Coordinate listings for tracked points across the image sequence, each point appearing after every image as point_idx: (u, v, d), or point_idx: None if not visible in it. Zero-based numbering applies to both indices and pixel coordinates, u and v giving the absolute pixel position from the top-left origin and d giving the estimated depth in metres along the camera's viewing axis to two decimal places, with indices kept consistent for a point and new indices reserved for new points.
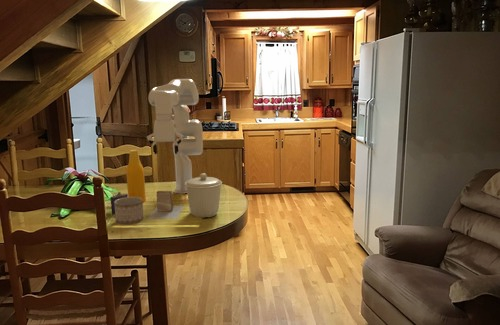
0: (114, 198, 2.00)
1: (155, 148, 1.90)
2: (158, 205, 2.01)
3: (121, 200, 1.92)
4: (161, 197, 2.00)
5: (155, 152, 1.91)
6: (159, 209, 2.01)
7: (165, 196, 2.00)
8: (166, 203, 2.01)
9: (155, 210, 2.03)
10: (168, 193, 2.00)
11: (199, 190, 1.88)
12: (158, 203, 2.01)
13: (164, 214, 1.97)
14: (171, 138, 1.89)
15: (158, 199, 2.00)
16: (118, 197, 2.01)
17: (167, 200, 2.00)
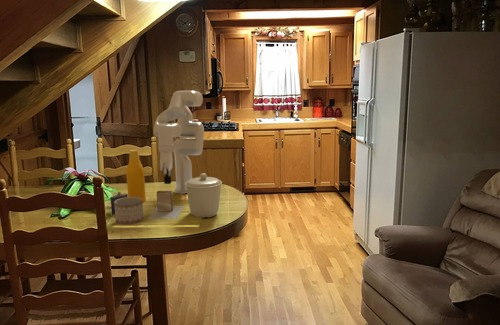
0: (114, 198, 2.00)
1: (170, 178, 2.09)
2: (158, 205, 2.01)
3: (121, 200, 1.92)
4: (161, 197, 2.00)
5: (170, 182, 2.09)
6: (159, 209, 2.01)
7: (165, 196, 2.00)
8: (166, 203, 2.01)
9: (155, 210, 2.03)
10: (168, 193, 2.00)
11: (198, 190, 1.88)
12: (158, 203, 2.01)
13: (164, 214, 1.97)
14: (172, 165, 2.12)
15: (158, 199, 2.00)
16: (118, 197, 2.01)
17: (167, 200, 2.00)
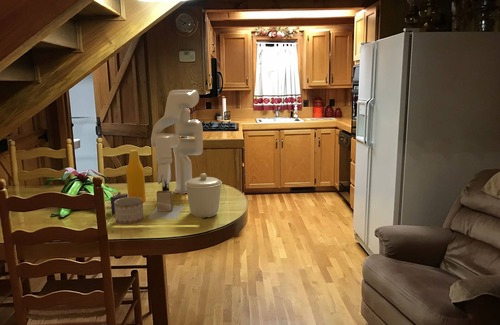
0: (114, 198, 2.00)
1: (168, 190, 2.05)
2: (158, 205, 2.01)
3: (121, 200, 1.92)
4: (161, 197, 2.00)
5: None
6: (159, 209, 2.01)
7: (165, 196, 2.00)
8: (166, 203, 2.01)
9: (155, 210, 2.03)
10: (168, 193, 2.00)
11: (199, 190, 1.88)
12: (158, 203, 2.01)
13: (164, 214, 1.97)
14: (170, 177, 2.07)
15: (158, 199, 2.00)
16: (118, 197, 2.01)
17: (167, 200, 2.00)
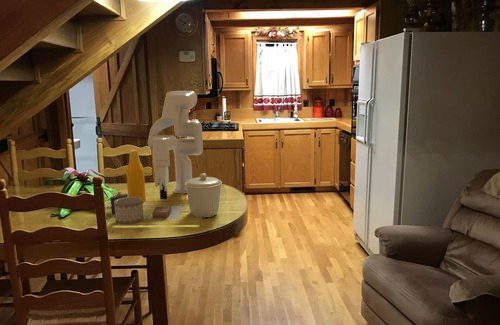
0: (114, 198, 2.00)
1: None
2: None
3: (121, 200, 1.92)
4: None
5: (166, 197, 2.00)
6: None
7: None
8: None
9: None
10: (165, 217, 1.92)
11: (199, 190, 1.88)
12: None
13: None
14: (168, 180, 2.02)
15: None
16: (118, 197, 2.01)
17: None
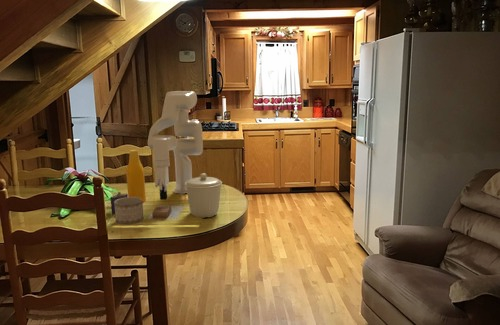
0: (114, 198, 2.00)
1: (166, 193, 1.99)
2: None
3: (121, 200, 1.92)
4: None
5: (166, 197, 1.99)
6: None
7: None
8: None
9: None
10: (165, 217, 1.92)
11: (199, 190, 1.88)
12: None
13: None
14: (168, 180, 2.01)
15: None
16: (118, 197, 2.01)
17: None
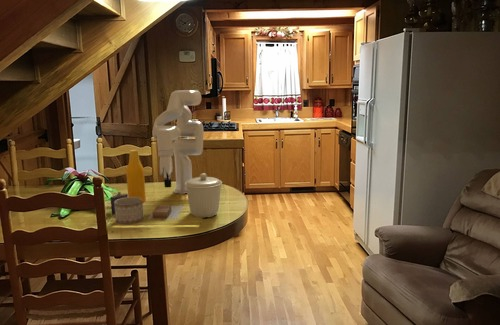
0: (114, 198, 2.00)
1: (170, 181, 2.09)
2: None
3: (121, 200, 1.92)
4: None
5: (170, 185, 2.09)
6: None
7: None
8: None
9: None
10: (165, 217, 1.92)
11: (199, 190, 1.88)
12: None
13: None
14: (172, 168, 2.11)
15: None
16: (118, 197, 2.01)
17: None
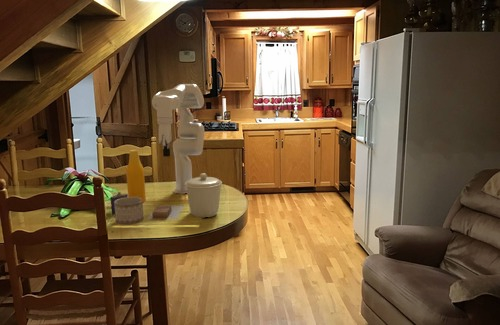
0: (114, 198, 2.00)
1: (169, 150, 2.07)
2: None
3: (121, 200, 1.92)
4: None
5: (169, 154, 2.07)
6: None
7: None
8: None
9: None
10: (165, 217, 1.92)
11: (198, 190, 1.88)
12: None
13: None
14: (171, 138, 2.09)
15: None
16: (118, 197, 2.01)
17: None
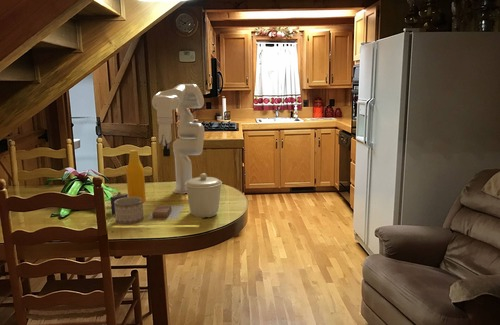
0: (114, 198, 2.00)
1: (169, 150, 2.07)
2: None
3: (121, 200, 1.92)
4: None
5: (169, 154, 2.07)
6: None
7: None
8: None
9: None
10: (165, 217, 1.92)
11: (199, 190, 1.88)
12: None
13: None
14: (171, 138, 2.09)
15: None
16: (118, 197, 2.01)
17: None
